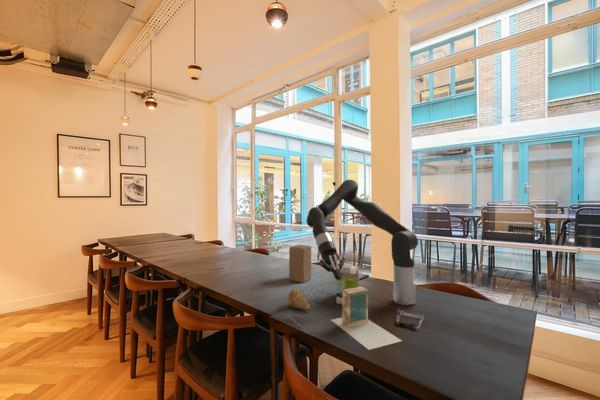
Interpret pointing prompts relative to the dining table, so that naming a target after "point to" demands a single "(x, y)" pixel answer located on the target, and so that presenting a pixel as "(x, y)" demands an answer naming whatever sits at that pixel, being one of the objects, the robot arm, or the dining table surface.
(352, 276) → the tea box
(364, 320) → the maple slab
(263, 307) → the dining table surface
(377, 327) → the felt mat
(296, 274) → the wooden block
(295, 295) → the seashell
